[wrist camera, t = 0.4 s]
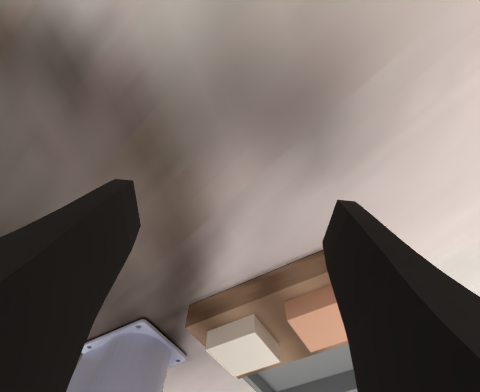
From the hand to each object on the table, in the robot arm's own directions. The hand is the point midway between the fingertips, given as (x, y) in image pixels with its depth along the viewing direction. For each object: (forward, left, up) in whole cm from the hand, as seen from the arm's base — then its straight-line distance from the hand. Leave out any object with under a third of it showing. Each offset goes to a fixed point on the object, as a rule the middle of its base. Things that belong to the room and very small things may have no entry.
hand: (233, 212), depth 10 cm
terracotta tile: (-1, -17, -8) cm, 19 cm away
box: (-5, -27, -11) cm, 30 cm away
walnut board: (-5, -18, -11) cm, 21 cm away
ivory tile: (-9, -17, -8) cm, 21 cm away
